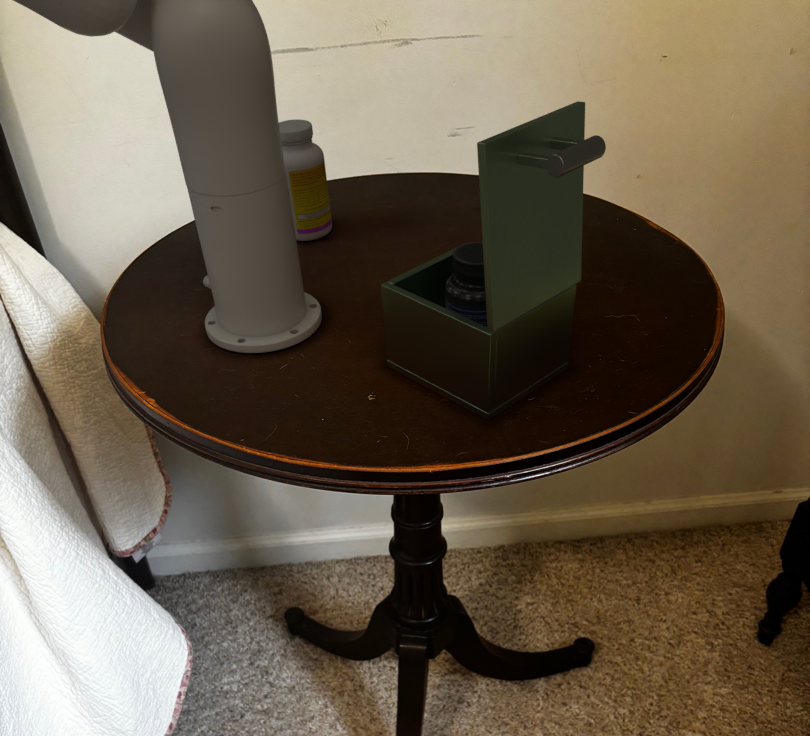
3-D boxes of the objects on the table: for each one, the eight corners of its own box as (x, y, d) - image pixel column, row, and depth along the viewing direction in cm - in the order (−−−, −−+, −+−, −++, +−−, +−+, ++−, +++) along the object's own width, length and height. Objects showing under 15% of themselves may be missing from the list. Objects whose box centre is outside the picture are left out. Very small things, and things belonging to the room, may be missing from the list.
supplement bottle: (343, 226, 104) (331, 120, 95) (312, 247, 100) (297, 138, 91) (302, 217, 107) (287, 113, 98) (271, 236, 103) (252, 130, 94)
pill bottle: (504, 380, 76) (509, 270, 68) (441, 376, 77) (438, 267, 69) (511, 346, 80) (517, 238, 72) (451, 342, 81) (450, 236, 73)
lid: (476, 142, 57) (533, 150, 54) (577, 100, 62) (634, 106, 59) (487, 328, 66) (535, 345, 63) (574, 278, 72) (623, 291, 69)
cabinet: (386, 366, 80) (380, 284, 74) (466, 321, 85) (466, 241, 79) (488, 421, 73) (490, 334, 66) (568, 368, 78) (577, 284, 72)
